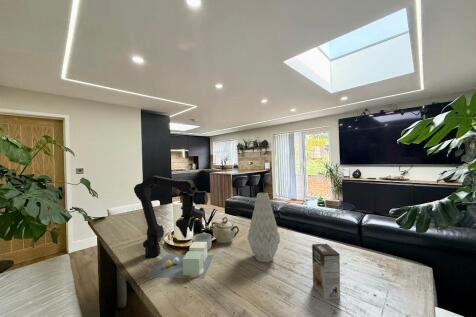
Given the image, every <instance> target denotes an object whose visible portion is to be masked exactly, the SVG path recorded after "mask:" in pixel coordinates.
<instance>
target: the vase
mask: <svg viewBox="0 0 476 317" xmlns="http://www.w3.org/2000/svg"><path fill="white" fill-rule="evenodd" d="M246 239H247V241H248V243H249V246H250V247H249V248H250V250H251V252H252V254H253V255H254V257H255V260H256V261H257V262H261V263H269V262H271V261H273V259H274V257H275V256H276V254H277V251H278V247H279V244H280V242H281V236H280V233H279V230H278V224H277V222H276V219H275V214H274V211H273V207H272V203H271V200H270V196H269V193H266V192H260V193H259V192H258V193H257V194H256V199H255V203H254V208H253V211H252V217H251V220H250V226H249V229H248V233H247V238H246Z"/></svg>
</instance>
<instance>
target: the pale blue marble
mask: <svg viewBox="0 0 476 317" xmlns="http://www.w3.org/2000/svg"><path fill="white" fill-rule="evenodd" d="M178 262H179V258H177V257H175V258H174V259H173V264H178Z"/></svg>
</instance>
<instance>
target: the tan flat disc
mask: <svg viewBox="0 0 476 317" xmlns="http://www.w3.org/2000/svg"><path fill="white" fill-rule="evenodd" d="M203 272H204V268H203V269H202V271H201V273H200V275H201V274H202V273H203ZM184 276H186V277H197V276H199V275H184Z"/></svg>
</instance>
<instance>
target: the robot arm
mask: <svg viewBox="0 0 476 317" xmlns="http://www.w3.org/2000/svg"><path fill="white" fill-rule="evenodd" d="M156 185H160V186H166V187H171V188H175V189H177V190H178V191H180V192H179V194H177V196H178V197H181V206H180V210H181V212H182V213H181V215H180V217H179V218H178V219H177V220H176V221H175V226H176V227H177V229H179V231H180V233H181V235H182V236H183V238H184V239H187V236H188V230H189V232H193V228H194V224H195V221H196V219H198V220H200V221H201V220H202V219H203V218H204V216H205V212H206V211H205V210H204V207H201V206H200V208H196V206H197V205H205V206H207V205H208V202H209V196H208V193H207V191H206V190H204V191H203V190H202V191H199V190H198V188H197V187H196V186H195V183H194V181H193V180H192V179H174V178H169V177H164V176H160V175H151V176H150V177H149V178H147V179H145V180H143V181H142V182H140V183H137V184H135V186H134V187H133V192H134V194H135V196H136V198H138V200H139V201H140V204H141V206H142V209H143V214H144V218H145V222H146V225H147V230H146V239H145V240H144V242H142V246H143V248H145V249H144V252H145V255H144V259H156V258H157V257H158V256H159V255H161V246H160V243H161V240H162V238H164V236H165V234H164V233H165V230H164V229H163V228H164V226H163V225H162V224H161V225H160V224H158V223H159V222H158V221H157V217H156V214H155V210H154V207H153V203H152V199H151V196H152V188H154V187H155V186H156ZM194 204H195V205H196V206H195V205H194Z"/></svg>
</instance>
